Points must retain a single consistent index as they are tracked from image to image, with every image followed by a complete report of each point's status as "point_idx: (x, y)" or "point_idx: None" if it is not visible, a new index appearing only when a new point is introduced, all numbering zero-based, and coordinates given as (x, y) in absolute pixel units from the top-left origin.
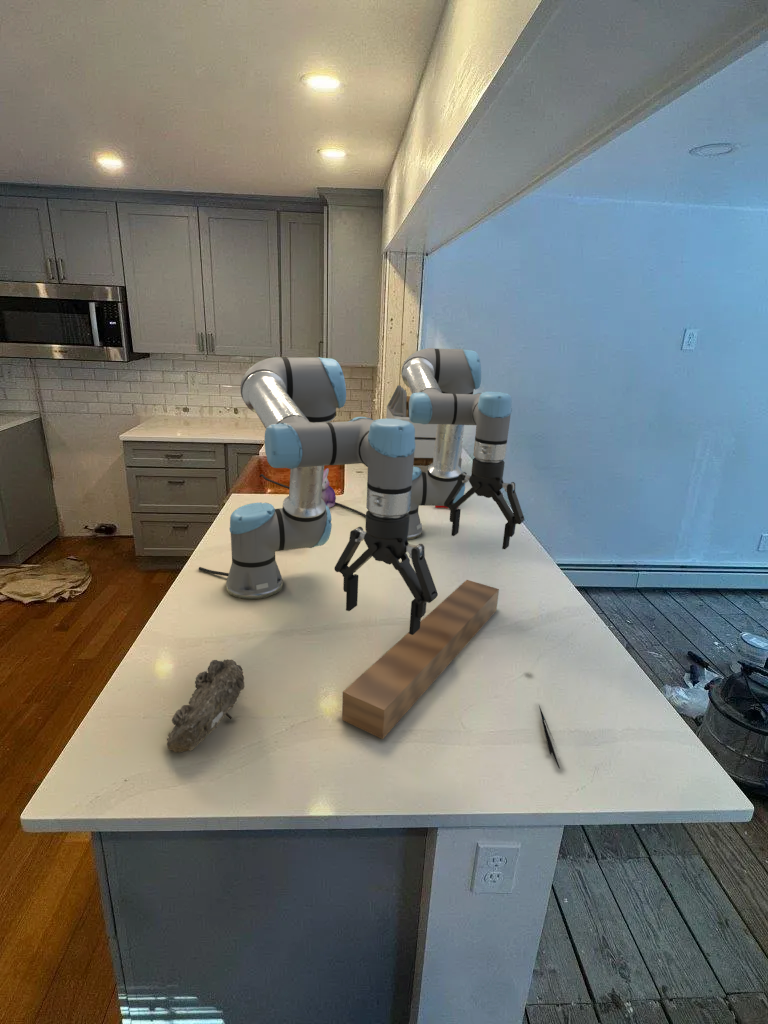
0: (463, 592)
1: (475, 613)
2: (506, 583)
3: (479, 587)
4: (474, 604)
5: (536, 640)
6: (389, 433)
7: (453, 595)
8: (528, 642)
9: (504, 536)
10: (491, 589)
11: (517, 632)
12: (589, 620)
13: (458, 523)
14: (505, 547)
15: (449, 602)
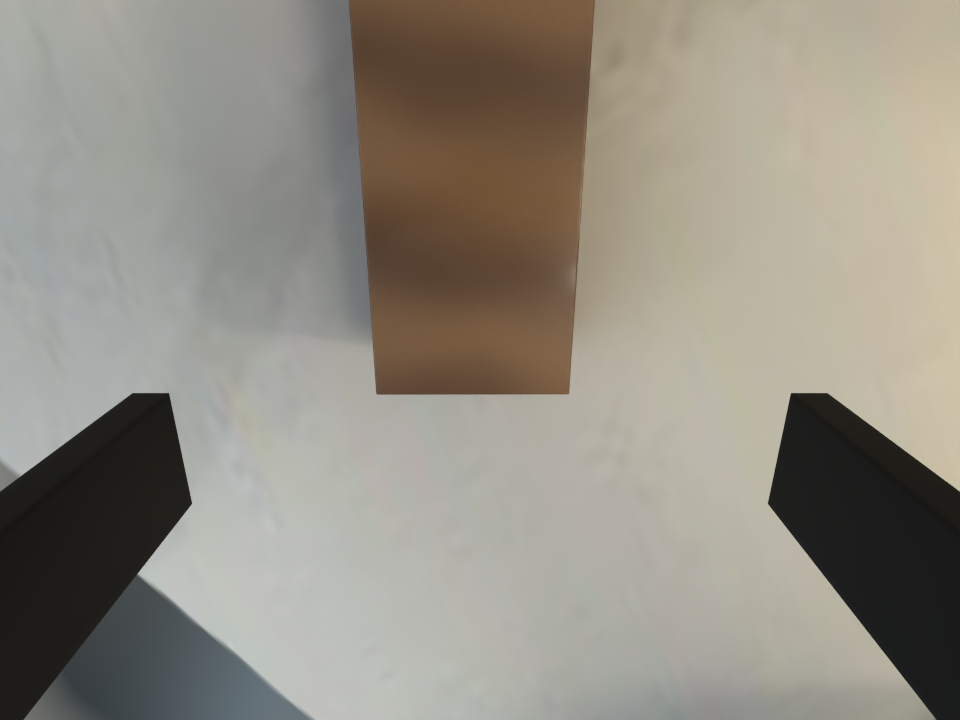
0: (525, 237)
1: (352, 17)
2: (457, 581)
3: (472, 349)
4: (408, 132)
5: (133, 206)
6: None
7: (562, 162)
8: (150, 166)
9: (49, 483)
10: (407, 365)
11: (232, 222)
12: None
13: (847, 571)
14: (118, 409)
15: (548, 55)
